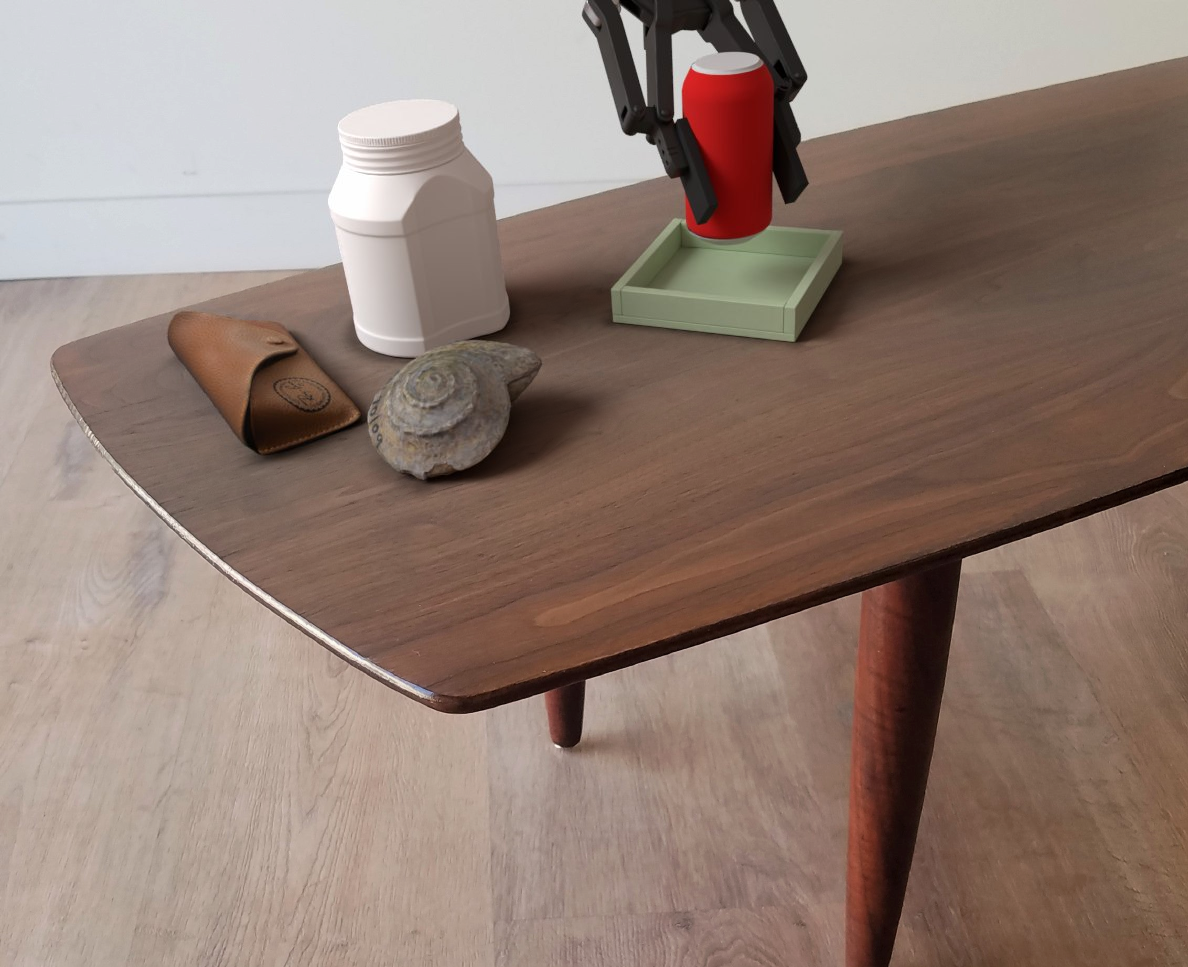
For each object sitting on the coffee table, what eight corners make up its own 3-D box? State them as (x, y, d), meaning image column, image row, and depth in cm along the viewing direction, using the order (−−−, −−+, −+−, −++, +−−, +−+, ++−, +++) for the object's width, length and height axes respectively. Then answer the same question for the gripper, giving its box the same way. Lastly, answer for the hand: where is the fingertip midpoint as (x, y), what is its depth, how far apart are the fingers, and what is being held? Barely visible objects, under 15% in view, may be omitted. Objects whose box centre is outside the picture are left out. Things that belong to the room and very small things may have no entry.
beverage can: (676, 226, 91) (669, 56, 84) (755, 213, 92) (756, 43, 84) (700, 257, 86) (695, 79, 79) (784, 242, 87) (787, 65, 80)
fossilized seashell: (339, 407, 79) (362, 310, 75) (478, 404, 85) (506, 314, 81) (411, 505, 73) (440, 405, 69) (555, 494, 79) (589, 401, 75)
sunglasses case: (371, 412, 80) (303, 348, 76) (297, 490, 80) (224, 431, 76) (279, 320, 93) (215, 260, 88) (214, 387, 93) (147, 331, 88)
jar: (467, 280, 97) (437, 84, 88) (532, 319, 91) (507, 111, 82) (336, 326, 92) (290, 123, 83) (395, 370, 86) (352, 155, 77)
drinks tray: (842, 263, 94) (843, 230, 93) (794, 342, 85) (795, 307, 83) (675, 249, 99) (674, 217, 97) (612, 322, 89) (610, 289, 88)
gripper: (746, -78, 92) (850, 201, 90) (507, -38, 88) (612, 258, 85) (782, -153, 85) (897, 148, 83) (524, -114, 80) (639, 208, 78)
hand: (752, 204), depth 84 cm, fingers closed on beverage can, 6 cm apart
